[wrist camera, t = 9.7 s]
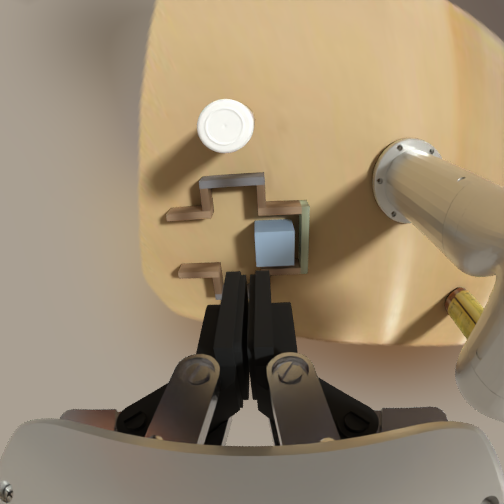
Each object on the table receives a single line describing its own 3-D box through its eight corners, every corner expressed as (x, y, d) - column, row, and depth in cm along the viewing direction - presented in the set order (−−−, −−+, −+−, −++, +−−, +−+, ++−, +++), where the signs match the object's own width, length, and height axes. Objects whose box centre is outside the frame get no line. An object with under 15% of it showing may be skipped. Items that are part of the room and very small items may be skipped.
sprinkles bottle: (261, 128, 33) (263, 138, 21) (229, 144, 34) (212, 164, 22) (244, 96, 31) (236, 88, 19) (211, 113, 32) (185, 116, 20)
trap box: (306, 171, 35) (309, 175, 33) (304, 286, 44) (306, 295, 42) (166, 180, 36) (160, 185, 34) (187, 290, 45) (184, 300, 42)
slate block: (291, 218, 39) (294, 230, 35) (291, 250, 41) (294, 265, 38) (254, 220, 39) (254, 232, 35) (256, 252, 41) (256, 266, 38)
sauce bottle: (449, 314, 47) (492, 384, 30) (439, 301, 46) (486, 377, 28) (470, 293, 45) (519, 360, 27) (462, 278, 43) (516, 349, 26)
